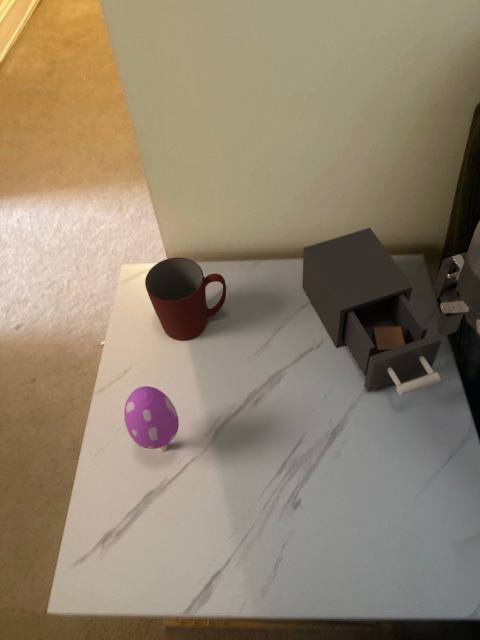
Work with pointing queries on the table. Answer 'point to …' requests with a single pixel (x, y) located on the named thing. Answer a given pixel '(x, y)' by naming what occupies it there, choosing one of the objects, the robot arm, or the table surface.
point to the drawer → (398, 360)
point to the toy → (150, 418)
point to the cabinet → (349, 277)
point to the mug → (181, 297)
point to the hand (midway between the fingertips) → (467, 360)
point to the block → (387, 338)
